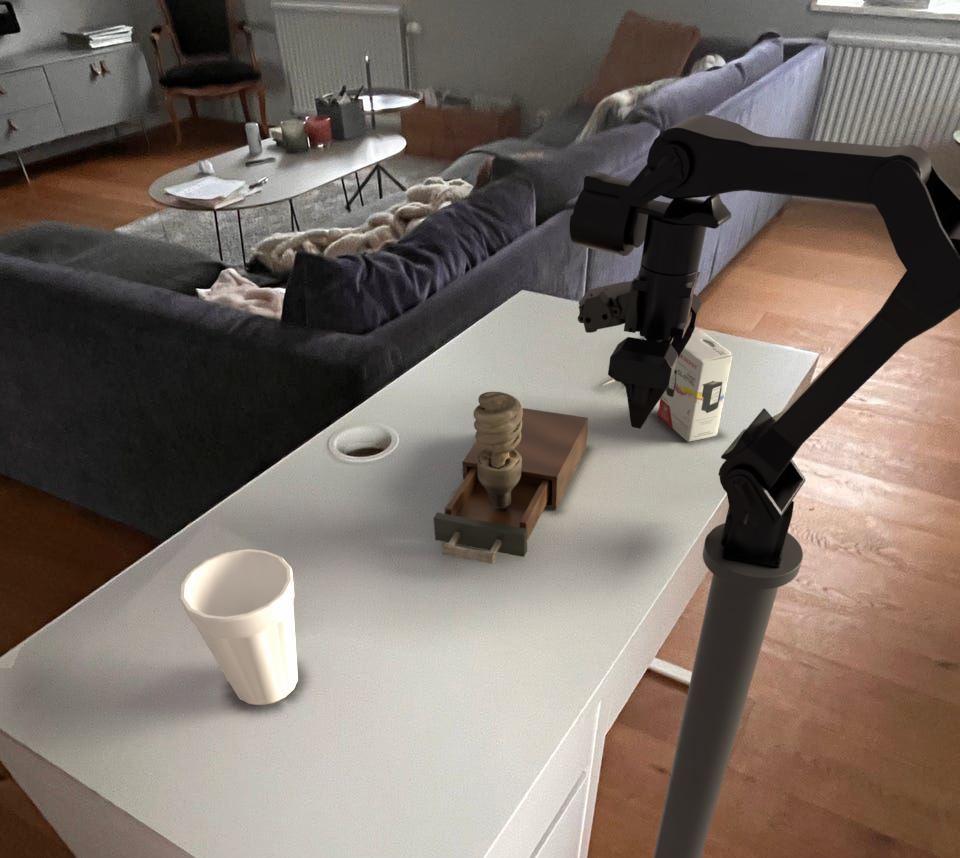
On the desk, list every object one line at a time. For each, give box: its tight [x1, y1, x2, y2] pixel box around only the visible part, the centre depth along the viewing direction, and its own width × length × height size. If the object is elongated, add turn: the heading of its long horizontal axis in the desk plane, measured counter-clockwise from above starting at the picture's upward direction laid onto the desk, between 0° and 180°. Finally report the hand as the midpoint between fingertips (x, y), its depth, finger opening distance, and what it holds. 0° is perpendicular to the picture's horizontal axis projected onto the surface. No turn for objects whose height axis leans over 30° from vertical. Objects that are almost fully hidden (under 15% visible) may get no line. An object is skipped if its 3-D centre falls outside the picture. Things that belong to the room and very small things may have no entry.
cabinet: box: [461, 407, 589, 511], centre depth 107 cm, size 15×12×5 cm
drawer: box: [433, 467, 553, 565], centre depth 98 cm, size 18×11×3 cm, turn 160°
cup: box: [179, 548, 299, 706], centre depth 77 cm, size 10×10×13 cm
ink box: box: [657, 330, 733, 443], centre depth 112 cm, size 9×5×12 cm, turn 21°
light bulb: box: [473, 391, 523, 511], centre depth 94 cm, size 6×6×15 cm
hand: (644, 408), depth 93 cm, fingers open, 9 cm apart
